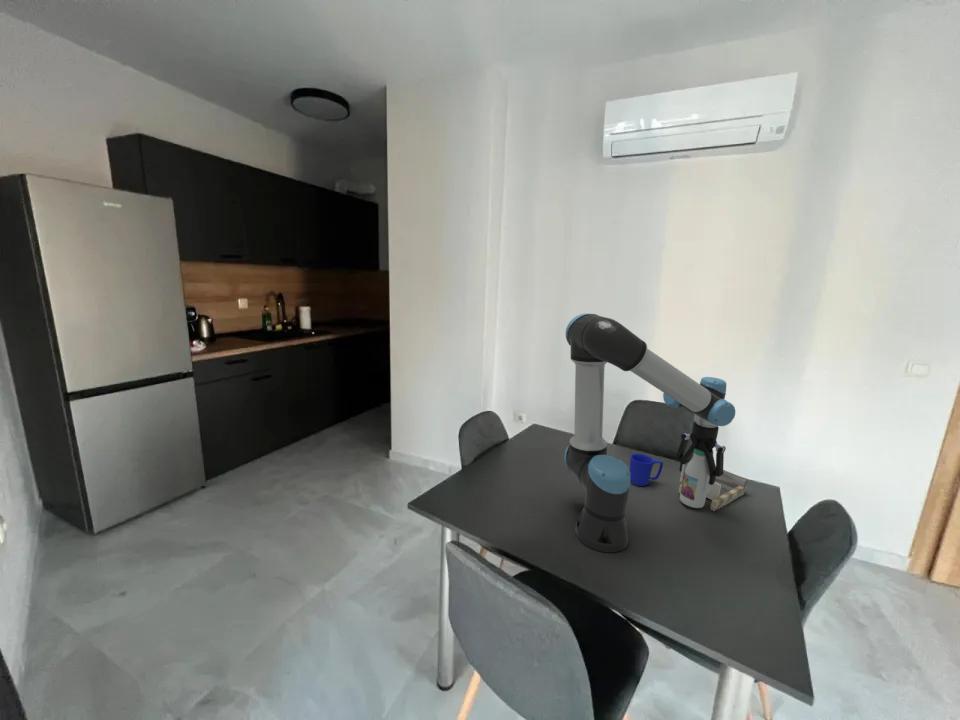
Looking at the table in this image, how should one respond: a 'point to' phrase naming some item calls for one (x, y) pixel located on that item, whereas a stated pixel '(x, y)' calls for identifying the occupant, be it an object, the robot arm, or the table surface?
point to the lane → (731, 481)
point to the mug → (642, 469)
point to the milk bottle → (695, 480)
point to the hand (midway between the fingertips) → (694, 486)
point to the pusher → (714, 491)
